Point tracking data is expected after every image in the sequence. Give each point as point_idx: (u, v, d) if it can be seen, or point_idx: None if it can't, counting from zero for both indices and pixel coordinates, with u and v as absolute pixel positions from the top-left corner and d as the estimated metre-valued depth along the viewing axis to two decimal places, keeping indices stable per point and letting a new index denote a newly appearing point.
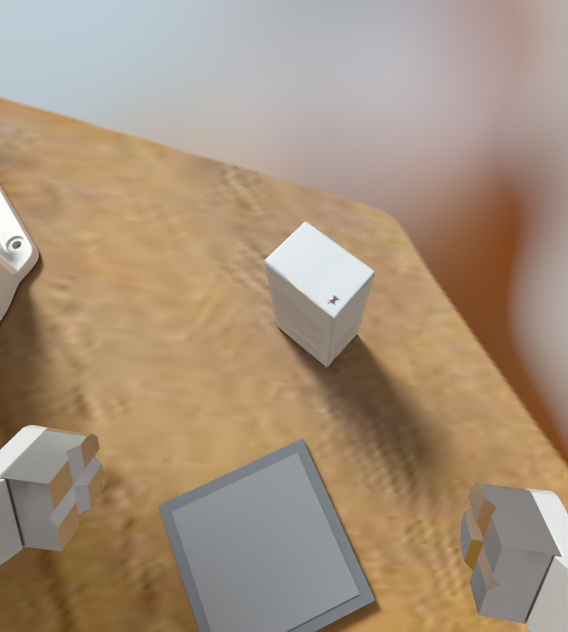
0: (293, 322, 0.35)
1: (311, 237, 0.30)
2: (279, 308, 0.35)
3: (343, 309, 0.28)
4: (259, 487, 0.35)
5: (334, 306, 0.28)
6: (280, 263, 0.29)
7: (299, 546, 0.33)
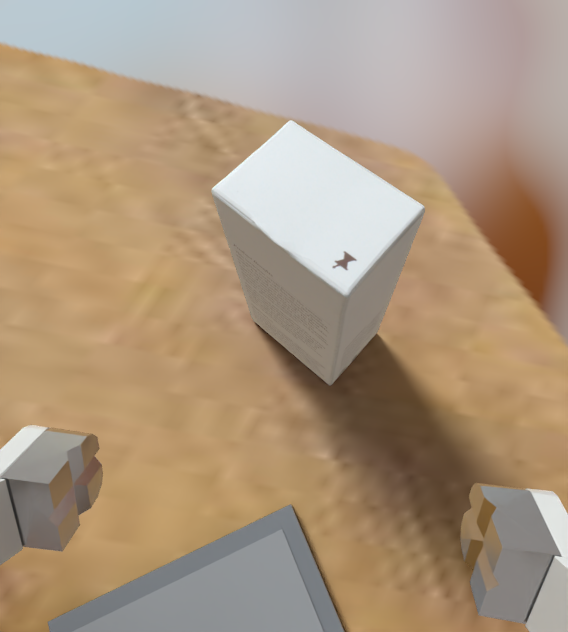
0: (274, 312, 0.21)
1: (301, 146, 0.16)
2: (251, 289, 0.21)
3: (365, 279, 0.14)
4: (217, 590, 0.21)
5: (347, 273, 0.14)
6: (241, 193, 0.15)
7: None
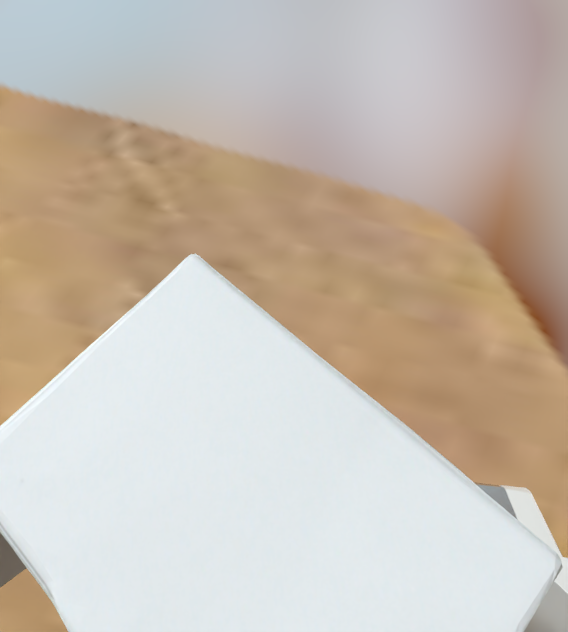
0: None
1: (211, 336, 0.06)
2: None
3: None
4: None
5: None
6: (30, 488, 0.05)
7: None
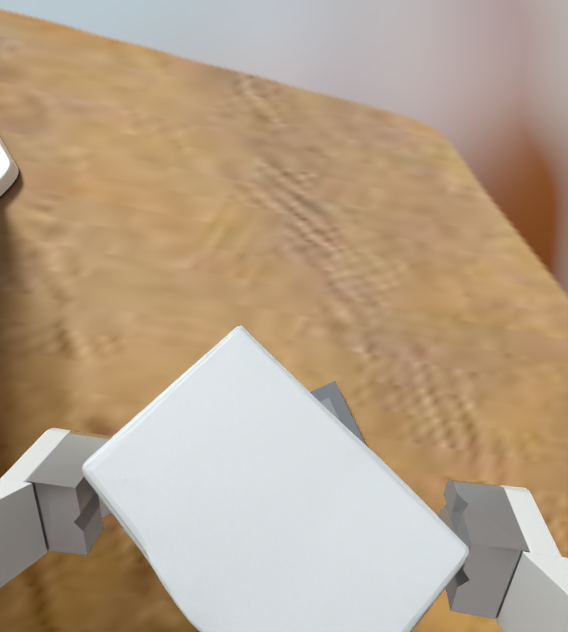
0: None
1: (250, 388, 0.09)
2: None
3: None
4: None
5: None
6: (130, 485, 0.08)
7: None
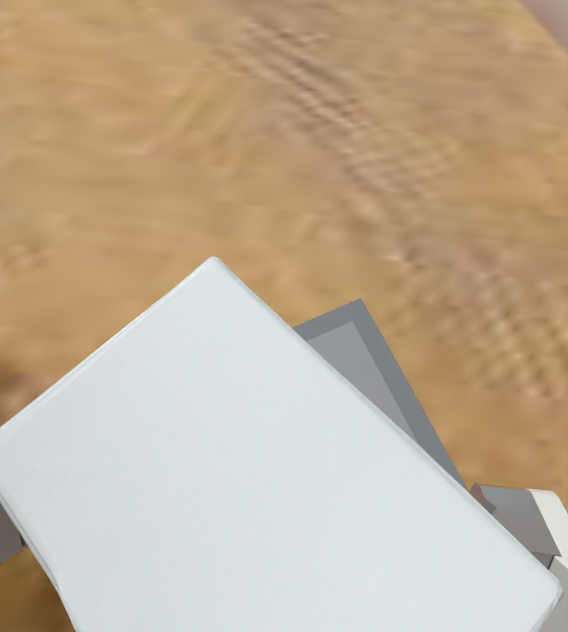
0: None
1: (226, 340, 0.06)
2: None
3: None
4: None
5: None
6: (41, 478, 0.05)
7: None
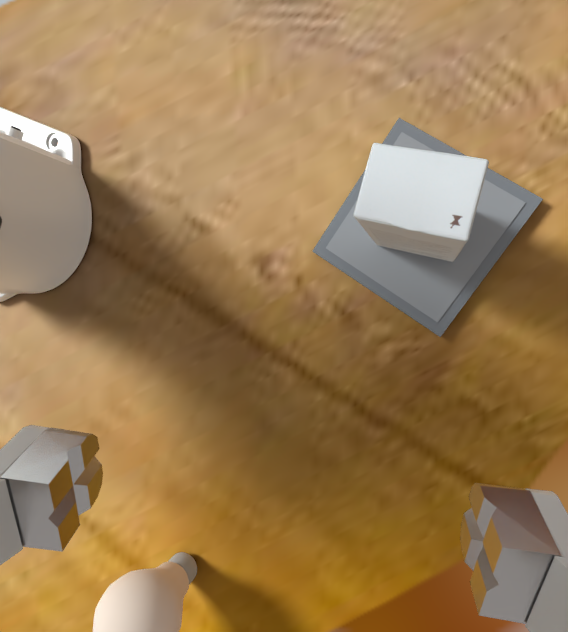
0: (402, 244, 0.31)
1: (391, 159, 0.24)
2: (380, 238, 0.30)
3: (472, 224, 0.23)
4: None
5: (461, 227, 0.23)
6: (373, 210, 0.24)
7: None
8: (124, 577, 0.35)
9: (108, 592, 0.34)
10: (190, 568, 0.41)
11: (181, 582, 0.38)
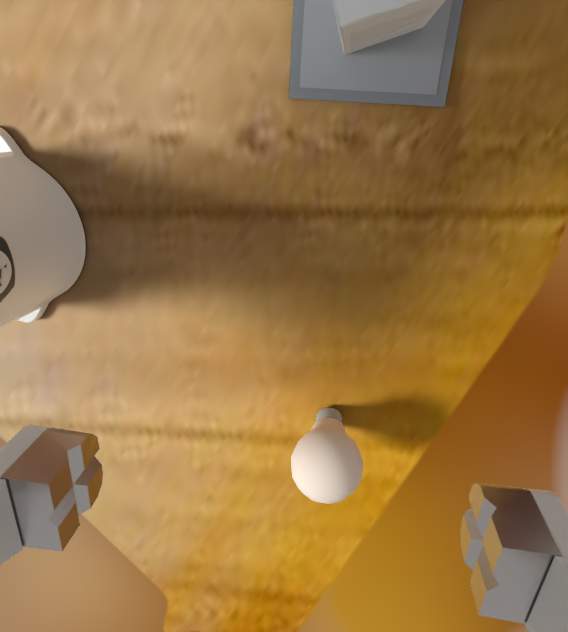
0: (378, 34, 0.30)
1: None
2: (356, 41, 0.29)
3: None
4: None
5: None
6: (355, 9, 0.23)
7: None
8: (299, 445, 0.41)
9: (295, 461, 0.41)
10: (336, 415, 0.47)
11: (338, 426, 0.44)
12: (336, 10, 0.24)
